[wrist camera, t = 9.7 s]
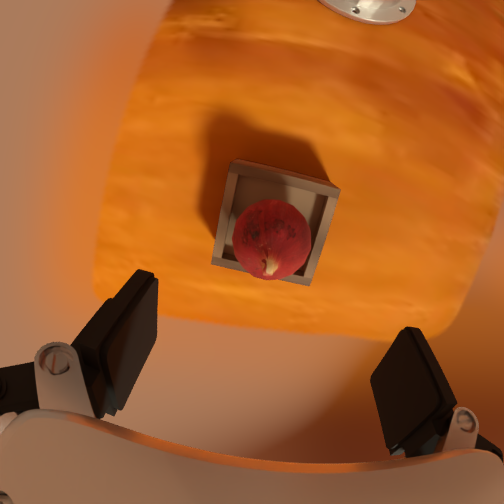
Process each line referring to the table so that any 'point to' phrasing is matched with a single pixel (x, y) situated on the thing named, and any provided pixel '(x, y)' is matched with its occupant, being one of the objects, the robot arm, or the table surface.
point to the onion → (271, 239)
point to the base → (277, 188)
